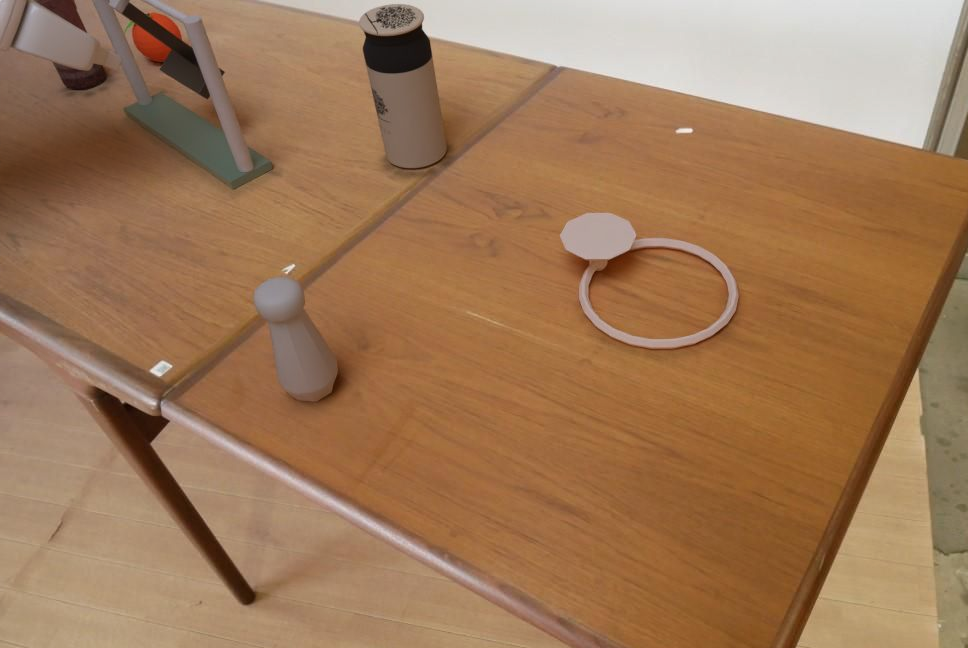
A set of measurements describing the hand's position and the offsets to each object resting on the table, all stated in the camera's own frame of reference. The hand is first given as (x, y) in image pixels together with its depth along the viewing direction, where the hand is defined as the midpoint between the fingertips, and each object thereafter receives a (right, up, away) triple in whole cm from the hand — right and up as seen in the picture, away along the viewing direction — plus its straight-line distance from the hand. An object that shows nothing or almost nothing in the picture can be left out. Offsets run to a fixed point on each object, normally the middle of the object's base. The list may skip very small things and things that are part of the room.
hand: (98, 50), depth 100 cm
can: (-17, +6, +28) cm, 33 cm away
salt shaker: (+31, -40, -17) cm, 53 cm away
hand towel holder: (+64, -29, -9) cm, 71 cm away
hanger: (+8, +2, +10) cm, 13 cm away
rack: (+5, -7, +15) cm, 17 cm away
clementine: (-7, +10, +31) cm, 34 cm away
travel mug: (+36, -10, +11) cm, 39 cm away
